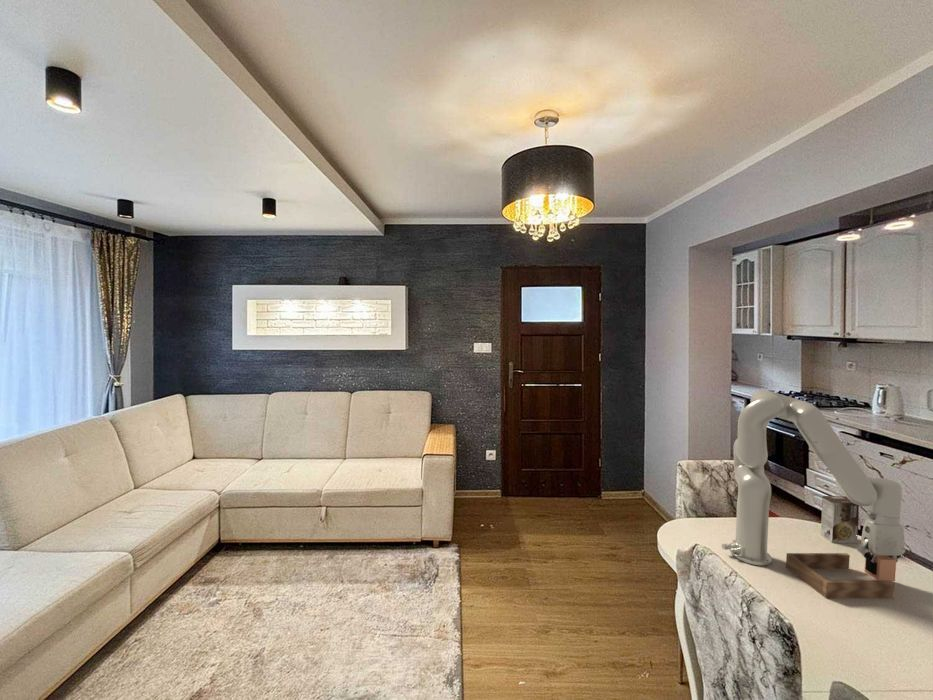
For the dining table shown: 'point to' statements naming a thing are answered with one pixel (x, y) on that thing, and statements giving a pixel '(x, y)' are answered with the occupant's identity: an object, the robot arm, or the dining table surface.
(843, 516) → the coffee box
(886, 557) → the terracotta block
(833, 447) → the robot arm
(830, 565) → the brown wooden u-shaped block
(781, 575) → the dining table surface
